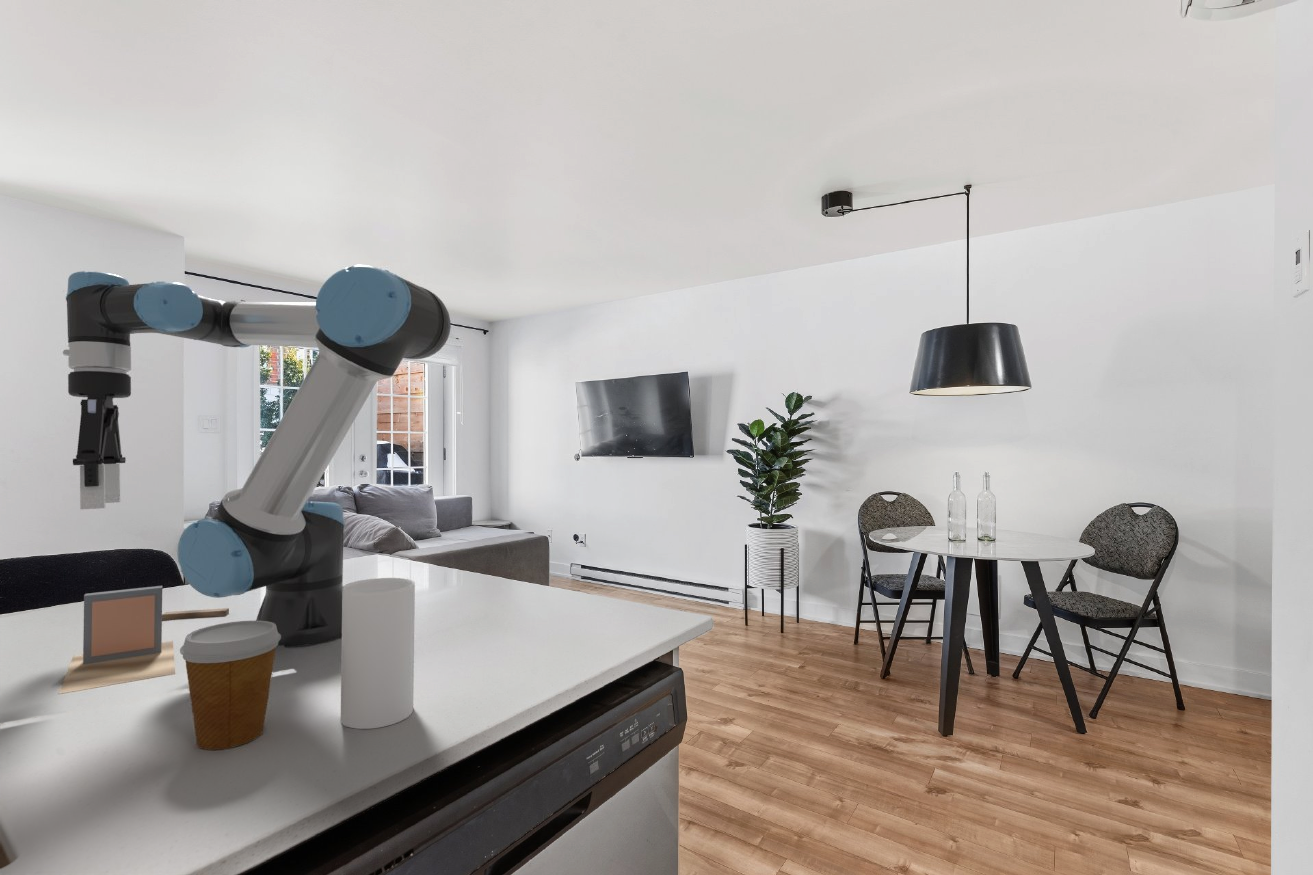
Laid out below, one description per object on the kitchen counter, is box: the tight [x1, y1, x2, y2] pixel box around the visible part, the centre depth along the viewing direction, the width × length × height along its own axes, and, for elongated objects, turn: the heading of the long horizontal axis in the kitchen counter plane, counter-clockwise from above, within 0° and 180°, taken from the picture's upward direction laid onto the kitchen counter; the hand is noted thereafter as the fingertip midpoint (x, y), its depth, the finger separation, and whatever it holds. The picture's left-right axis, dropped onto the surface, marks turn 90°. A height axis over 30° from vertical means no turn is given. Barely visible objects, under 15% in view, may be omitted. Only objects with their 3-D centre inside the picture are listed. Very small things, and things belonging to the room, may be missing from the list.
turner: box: [162, 607, 230, 622], centre depth 117 cm, size 18×6×2 cm, turn 108°
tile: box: [82, 585, 163, 665], centre depth 96 cm, size 2×9×10 cm, turn 128°
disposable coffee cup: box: [179, 620, 281, 751], centre depth 72 cm, size 10×10×12 cm
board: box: [58, 640, 176, 695], centre depth 93 cm, size 18×12×1 cm, turn 38°
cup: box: [340, 577, 416, 730], centre depth 78 cm, size 8×8×16 cm
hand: (101, 505), depth 101 cm, fingers open, 13 cm apart
